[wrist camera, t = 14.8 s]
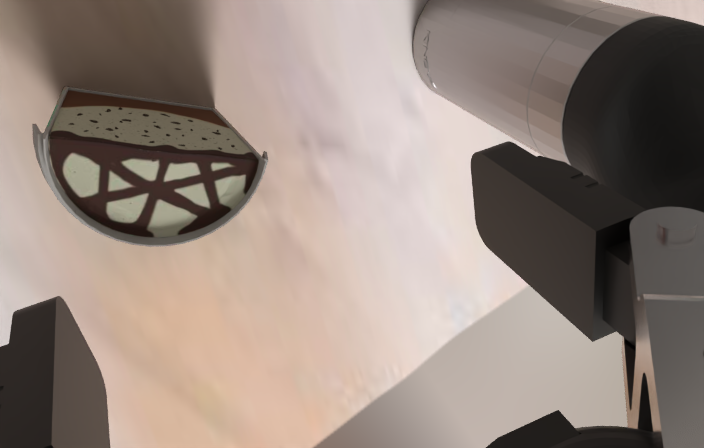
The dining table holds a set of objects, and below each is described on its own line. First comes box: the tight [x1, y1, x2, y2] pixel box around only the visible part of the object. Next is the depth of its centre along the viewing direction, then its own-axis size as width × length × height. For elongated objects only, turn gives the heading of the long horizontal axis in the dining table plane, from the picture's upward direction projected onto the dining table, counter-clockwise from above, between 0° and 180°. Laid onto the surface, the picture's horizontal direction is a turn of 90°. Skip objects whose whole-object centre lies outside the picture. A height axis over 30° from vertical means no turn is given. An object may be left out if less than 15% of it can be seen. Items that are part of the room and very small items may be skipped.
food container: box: [32, 87, 268, 247], centre depth 39 cm, size 12×6×10 cm, turn 74°
